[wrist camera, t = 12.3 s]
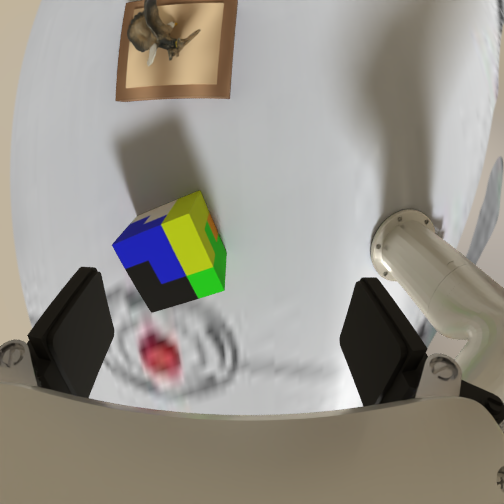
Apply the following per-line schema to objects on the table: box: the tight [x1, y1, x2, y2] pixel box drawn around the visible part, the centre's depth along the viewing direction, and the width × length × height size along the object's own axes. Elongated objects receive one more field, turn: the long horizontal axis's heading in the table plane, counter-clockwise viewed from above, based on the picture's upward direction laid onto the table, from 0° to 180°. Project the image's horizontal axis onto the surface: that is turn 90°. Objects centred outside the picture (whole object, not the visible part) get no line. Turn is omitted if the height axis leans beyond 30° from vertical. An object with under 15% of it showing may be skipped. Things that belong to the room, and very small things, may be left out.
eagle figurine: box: [127, 0, 201, 66], centre depth 23 cm, size 8×7×9 cm
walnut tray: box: [116, 0, 238, 102], centre depth 28 cm, size 14×14×4 cm
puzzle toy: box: [112, 190, 227, 313], centre depth 37 cm, size 10×10×10 cm
